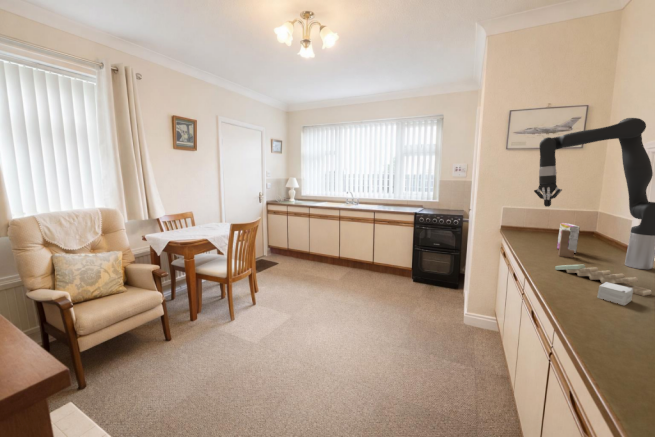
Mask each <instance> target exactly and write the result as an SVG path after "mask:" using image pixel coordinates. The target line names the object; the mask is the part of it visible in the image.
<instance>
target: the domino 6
mask: <svg viewBox="0 0 655 437" xmlns="http://www.w3.org/2000/svg"><path fill="white" fill-rule="evenodd" d="M613 284H617V285H621V286H625V287H629V288H633V294H634V295H638V296H642V297H646V296H649V295H652V290H651V289H649V288H648V289H647V288H644V287H640V286H637V285H633V284H630V283H613Z"/></svg>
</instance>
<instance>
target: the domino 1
mask: <svg viewBox="0 0 655 437" xmlns="http://www.w3.org/2000/svg"><path fill="white" fill-rule="evenodd" d="M554 268H555V269H554V270H555V271H557V270H558V271H559V270H563V271H564V270H565V271H566V270H568V269H581V268H586V265H585V264H566V265H565V264H563V265H556V266H554Z"/></svg>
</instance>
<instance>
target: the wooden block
mask: <svg viewBox="0 0 655 437" xmlns="http://www.w3.org/2000/svg"><path fill="white" fill-rule="evenodd" d="M569 234H570V231H569V230H562V231H561V238H560V246H559V249H558V256H559V257H564V258H572V259H573V258H575V254H574V250H569V249H568V241H569Z"/></svg>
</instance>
